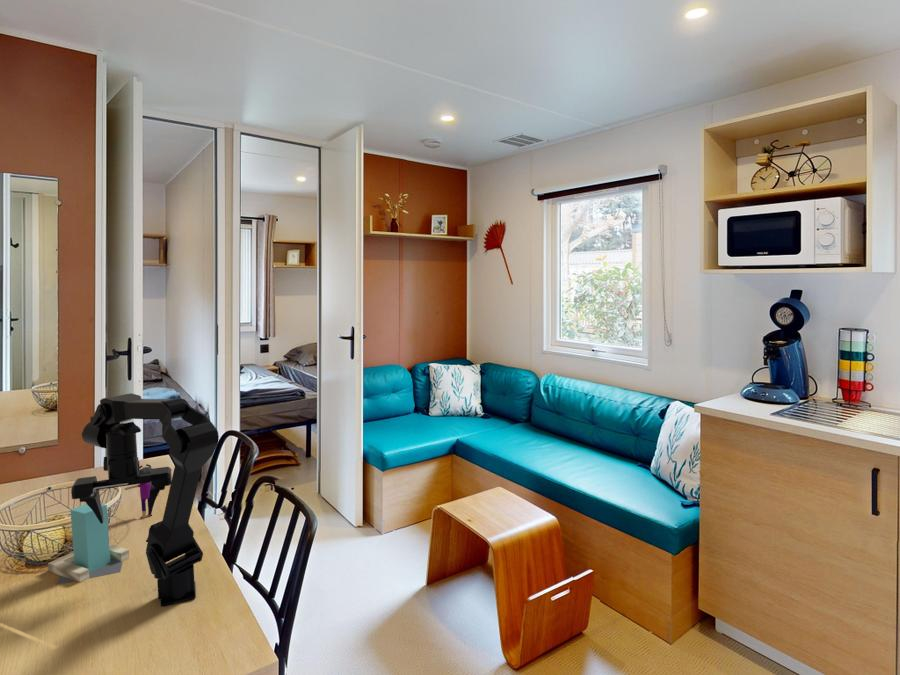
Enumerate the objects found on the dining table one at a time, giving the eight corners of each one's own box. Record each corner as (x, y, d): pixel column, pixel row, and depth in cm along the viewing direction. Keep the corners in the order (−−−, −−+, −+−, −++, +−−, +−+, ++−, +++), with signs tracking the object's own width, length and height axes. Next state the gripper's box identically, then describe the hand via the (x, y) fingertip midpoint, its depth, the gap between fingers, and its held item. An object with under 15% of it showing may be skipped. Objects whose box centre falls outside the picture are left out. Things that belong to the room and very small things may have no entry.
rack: (129, 557, 129) (128, 549, 129) (80, 582, 118) (79, 573, 118) (98, 548, 133) (98, 540, 133) (48, 571, 123) (47, 563, 122)
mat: (125, 549, 133) (125, 548, 133) (120, 573, 123) (120, 571, 122) (66, 560, 128) (66, 559, 128) (56, 586, 117) (55, 584, 117)
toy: (164, 508, 157) (162, 458, 155) (171, 514, 153) (169, 463, 151) (124, 520, 149) (121, 467, 148) (130, 526, 145) (127, 473, 144)
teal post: (110, 562, 127) (106, 505, 125) (89, 573, 122) (84, 513, 120) (96, 558, 128) (92, 501, 127) (74, 568, 124) (70, 509, 122)
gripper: (170, 436, 131) (173, 498, 132) (77, 446, 122) (82, 512, 124) (169, 449, 121) (172, 516, 122) (68, 461, 113) (73, 533, 114)
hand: (126, 518), depth 121 cm, fingers open, 9 cm apart
